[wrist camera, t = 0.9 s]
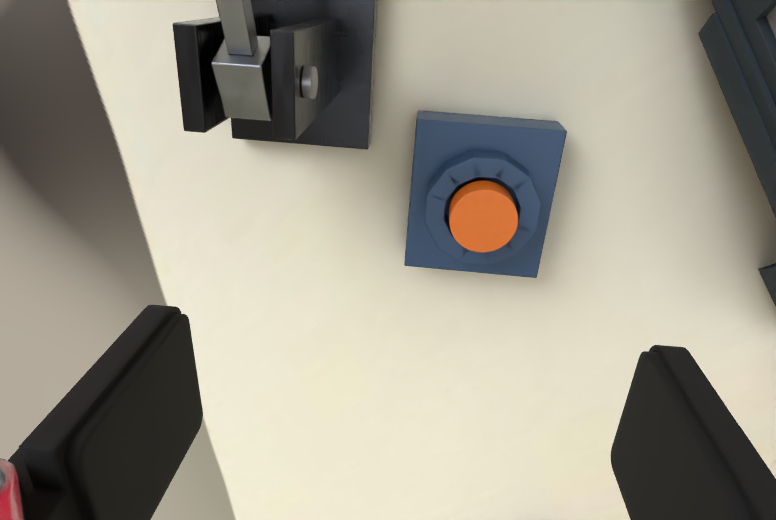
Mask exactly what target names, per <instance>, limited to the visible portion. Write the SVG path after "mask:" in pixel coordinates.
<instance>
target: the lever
mask: <svg viewBox="0 0 776 520" xmlns="http://www.w3.org/2000/svg"><path fill="white" fill-rule="evenodd" d="M216 3H217V8H218V12H219V16H220V21H221V25H222V30H223V34H224V40H223V42H222V43H221V45H220V47H219V49H218V51H217V53H216V54H215V56H214V58H213V60H212V62H211V65H212V69H213V73H214V77H215V81H216V85H217V88H218V92H219V96H220V100H221V104H222V108H223V112H224V115H225V117H230V118H243V119H255V120H267V121H270V120H272V117H273V116H272V86H271V56H270V37H266V36H257V33H256V28H255V22H254V16H253V11H252V5H251V0H216Z"/></svg>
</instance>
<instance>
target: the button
mask: <svg viewBox="0 0 776 520" xmlns="http://www.w3.org/2000/svg"><path fill="white" fill-rule="evenodd" d="M449 223H450V229H451V233H452V235H453V237H454V238H455V240H456V241H457V242H458V243H459V244H460V245H461V246H463V247H464V248H466V249H468V250H471V251H475V252H490V251H494V250H497V249H499V248H501V247H502V246H504V245H505V244H507V243H508V242H509V241H510V240H511V238H512V237H513V235H514V234H515V232H516V229H517V226H518V214H517V210H516V207H515V204H514V201H513V199H512V197H511V195H510V193H509V192H508V191H507V190H506V189H505V188H504V187H503V186H501V185H499V184H497V183H495V182H492V181H486V180H481V181H475V182H471V183H469V184H467V185H465V186H463V187H462V188H461V189H460V190H458V191H457V193H456V194H455V195H454V197H453V198H452V200H451V203H450V207H449Z"/></svg>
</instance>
